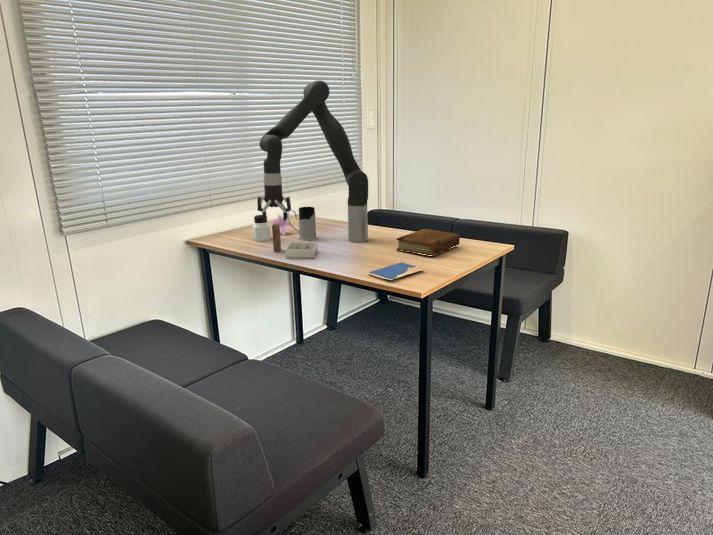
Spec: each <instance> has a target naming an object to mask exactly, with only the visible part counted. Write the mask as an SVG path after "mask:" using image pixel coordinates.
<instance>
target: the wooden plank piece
mask: <svg viewBox="0 0 713 535" xmlns="http://www.w3.org/2000/svg"><path fill="white" fill-rule="evenodd" d="M271 233H272V246H273V252H274V253H280V251H282V243H281V232H280V225H279V224H273V225H271Z"/></svg>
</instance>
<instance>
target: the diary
mask: <svg viewBox="0 0 713 535" xmlns="http://www.w3.org/2000/svg"><path fill="white" fill-rule="evenodd" d="M460 237H461V236H460V234H459V233H455V232H448V231H440V230H434V229H429V228H422V229H419V230H416V231H414V232H411V233H409V234H405V235H401V236H399V237H397V238H396V241H398V247H397V248H396V247H395V248H396V249H397V250H403V251H409V252H415V253H421V254H426V255H432V256H433V255H435V254H437V255H439V254H438V253H440V252H442V251H445V250H447V249H449V248H451V247H453V246H456V245H458V244H459V245H460V242H461V241H460V239H461V238H460ZM459 245H458V246H459ZM456 247H457V246H456ZM397 250H396V251H397ZM449 250H450V249H449ZM447 251H448V250H447ZM445 252H446V251H445ZM442 253H443V252H442ZM440 254H441V253H440ZM435 256H436V255H435ZM433 257H434V256H433Z"/></svg>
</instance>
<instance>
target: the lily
mask: <svg viewBox="0 0 713 535" xmlns="http://www.w3.org/2000/svg"><path fill="white" fill-rule="evenodd" d="M291 216H292V213H288V217H289V220H290V219H291ZM288 217H287V219H286V221H284V220H283V215H281V214H280V213H278V215H277V219H273V220H269V222H268V223H269V225H270V226H272V225H273V224H279V225H280V234H281V235H283V236H286V234H287V228H291V227H292V226H293V227H294V225H293V224H292V226H291V225H290V223H291V222H290V223H289V221H288ZM293 227H292V228H293Z"/></svg>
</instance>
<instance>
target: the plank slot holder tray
mask: <svg viewBox="0 0 713 535" xmlns="http://www.w3.org/2000/svg"><path fill="white" fill-rule="evenodd" d="M318 250H319V248H318V241H294V242H293V241H290V242H289V244H288V245H287V246H286V248H285V250H284V251H285V259H286V258H291V260H292V259H295V260H298V259H299V260H300V259H305V260H306V259H307V260H309V259H311V260H312V259H315V257H316V256H317V253H318Z"/></svg>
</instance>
